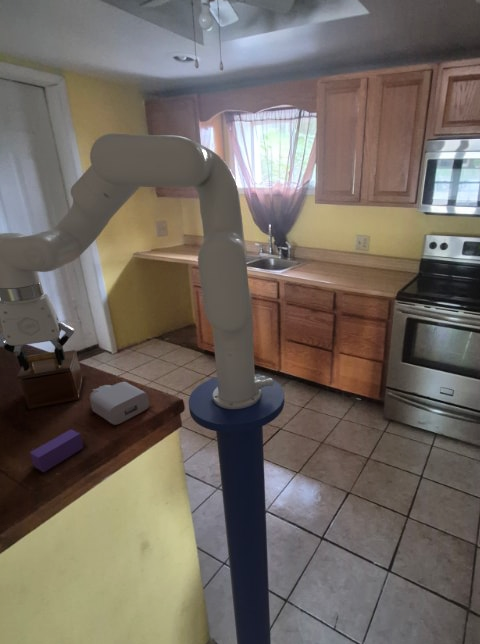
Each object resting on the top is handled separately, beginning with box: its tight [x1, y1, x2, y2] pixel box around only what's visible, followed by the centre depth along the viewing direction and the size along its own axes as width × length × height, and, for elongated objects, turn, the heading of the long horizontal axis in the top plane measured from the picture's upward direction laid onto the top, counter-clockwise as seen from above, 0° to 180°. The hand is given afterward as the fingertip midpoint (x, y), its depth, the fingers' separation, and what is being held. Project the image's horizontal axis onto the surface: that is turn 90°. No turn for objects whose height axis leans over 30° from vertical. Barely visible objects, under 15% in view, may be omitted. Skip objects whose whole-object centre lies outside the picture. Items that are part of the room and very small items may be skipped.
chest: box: [19, 352, 84, 410], centre depth 94 cm, size 12×11×8 cm
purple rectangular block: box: [29, 429, 84, 473], centre depth 73 cm, size 8×3×4 cm, turn 152°
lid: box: [16, 349, 77, 380], centre depth 91 cm, size 12×11×5 cm
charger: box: [89, 381, 150, 426], centre depth 89 cm, size 5×9×15 cm
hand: (44, 364), depth 88 cm, fingers closed on lid, 6 cm apart
